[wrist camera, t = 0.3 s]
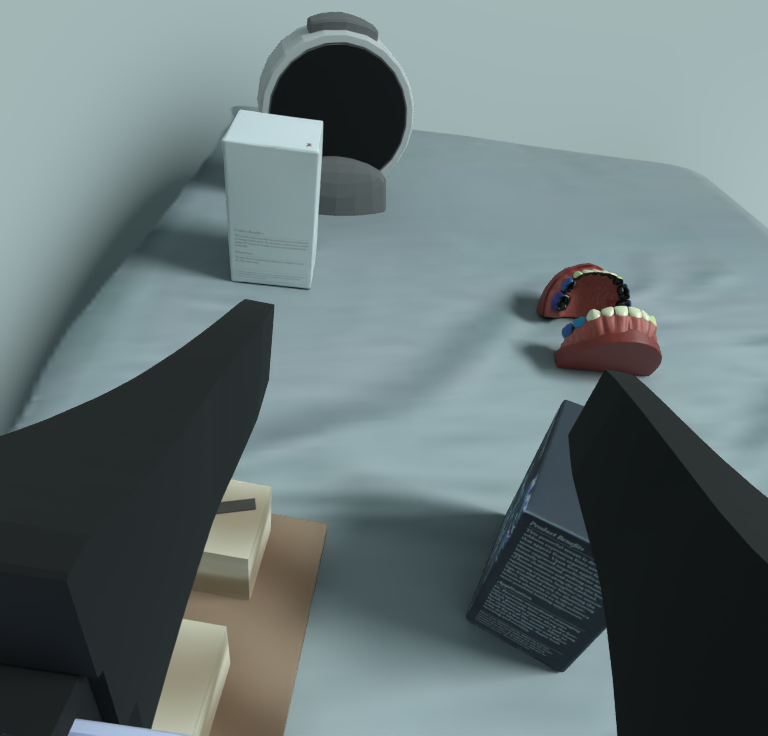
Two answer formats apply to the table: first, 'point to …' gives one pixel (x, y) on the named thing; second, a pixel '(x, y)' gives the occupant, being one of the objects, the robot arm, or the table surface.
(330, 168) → the alarm clock
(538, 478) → the box
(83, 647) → the robot arm
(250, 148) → the supplement box
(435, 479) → the table surface
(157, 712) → the plain block
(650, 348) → the teeth model
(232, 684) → the walnut board
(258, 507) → the letter t cube
